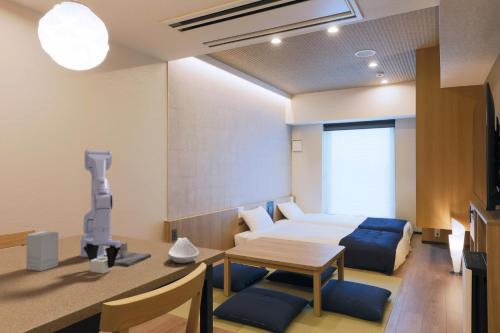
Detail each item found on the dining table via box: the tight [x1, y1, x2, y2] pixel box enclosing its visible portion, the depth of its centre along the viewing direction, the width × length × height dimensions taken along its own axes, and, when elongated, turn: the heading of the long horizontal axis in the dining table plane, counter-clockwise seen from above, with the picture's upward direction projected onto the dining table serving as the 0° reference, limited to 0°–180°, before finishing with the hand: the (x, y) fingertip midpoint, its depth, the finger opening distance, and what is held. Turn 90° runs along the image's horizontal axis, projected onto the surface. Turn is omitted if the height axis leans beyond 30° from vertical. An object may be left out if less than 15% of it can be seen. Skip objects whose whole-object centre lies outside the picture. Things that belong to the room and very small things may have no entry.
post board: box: [103, 242, 152, 267], centre depth 132 cm, size 16×14×6 cm
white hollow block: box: [89, 256, 115, 274], centre depth 118 cm, size 5×5×4 cm
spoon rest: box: [167, 237, 200, 264], centre depth 135 cm, size 24×12×7 cm, turn 16°
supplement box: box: [25, 230, 59, 272], centre depth 121 cm, size 7×7×13 cm
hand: (102, 266), depth 118 cm, fingers open, 7 cm apart
